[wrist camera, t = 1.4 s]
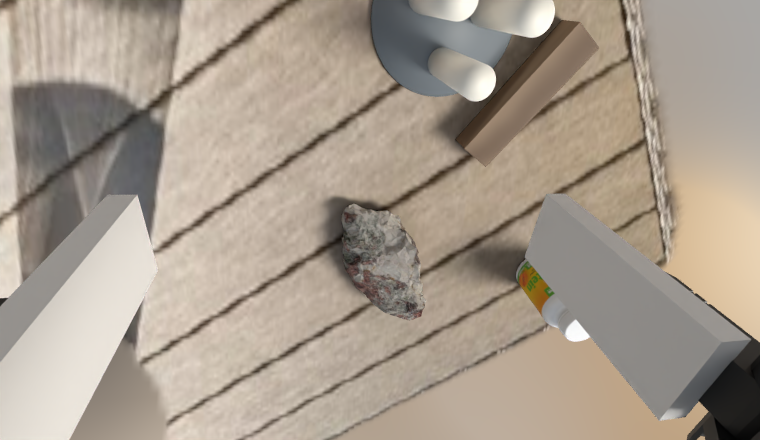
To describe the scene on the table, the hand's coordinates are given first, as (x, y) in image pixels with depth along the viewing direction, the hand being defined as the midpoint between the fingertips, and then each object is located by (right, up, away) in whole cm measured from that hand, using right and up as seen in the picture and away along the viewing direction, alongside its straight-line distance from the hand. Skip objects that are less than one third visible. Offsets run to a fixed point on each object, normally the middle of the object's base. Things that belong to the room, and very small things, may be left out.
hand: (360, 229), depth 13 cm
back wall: (+13, +12, +22) cm, 28 cm away
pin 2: (+9, +17, +18) cm, 26 cm away
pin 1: (+6, +14, +19) cm, 24 cm away
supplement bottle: (+20, -6, +34) cm, 40 cm away
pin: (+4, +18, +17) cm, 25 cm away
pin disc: (+6, +16, +18) cm, 25 cm away
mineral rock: (+1, -3, +29) cm, 30 cm away
